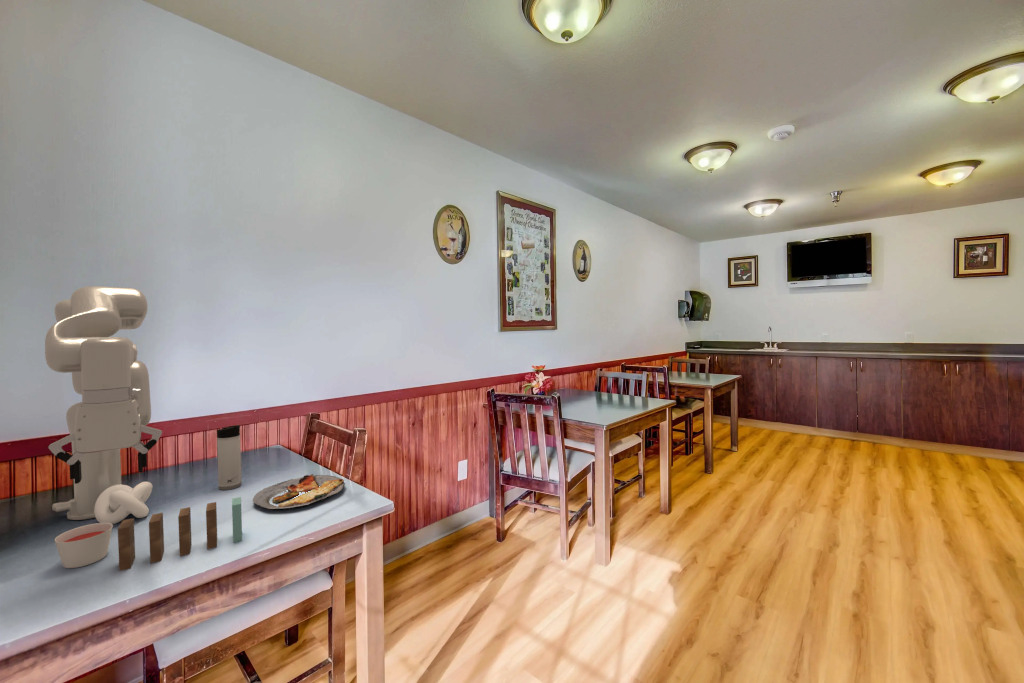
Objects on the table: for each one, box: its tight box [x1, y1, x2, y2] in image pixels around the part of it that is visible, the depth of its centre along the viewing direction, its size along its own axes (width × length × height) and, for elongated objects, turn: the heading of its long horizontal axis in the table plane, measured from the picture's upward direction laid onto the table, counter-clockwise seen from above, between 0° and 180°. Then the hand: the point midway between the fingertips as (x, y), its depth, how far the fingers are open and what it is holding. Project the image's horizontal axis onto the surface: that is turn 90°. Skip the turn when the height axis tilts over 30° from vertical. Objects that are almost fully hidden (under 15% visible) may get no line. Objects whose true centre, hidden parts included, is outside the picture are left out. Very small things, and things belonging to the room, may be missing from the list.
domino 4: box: [205, 501, 218, 550], centre depth 99 cm, size 2×5×9 cm, turn 34°
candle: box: [54, 522, 114, 569], centre depth 92 cm, size 9×9×6 cm
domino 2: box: [148, 512, 165, 564], centre depth 93 cm, size 2×5×9 cm, turn 34°
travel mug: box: [216, 424, 243, 491], centre depth 135 cm, size 6×7×20 cm
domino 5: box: [231, 496, 243, 544], centre depth 101 cm, size 2×5×9 cm, turn 33°
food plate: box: [252, 473, 346, 510], centre depth 127 cm, size 25×23×4 cm
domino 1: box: [117, 517, 136, 572], centre depth 90 cm, size 2×5×9 cm, turn 34°
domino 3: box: [177, 506, 192, 557], centre depth 96 cm, size 2×5×9 cm, turn 34°
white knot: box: [94, 481, 153, 525], centre depth 113 cm, size 11×12×9 cm
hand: (110, 476), depth 89 cm, fingers open, 9 cm apart
